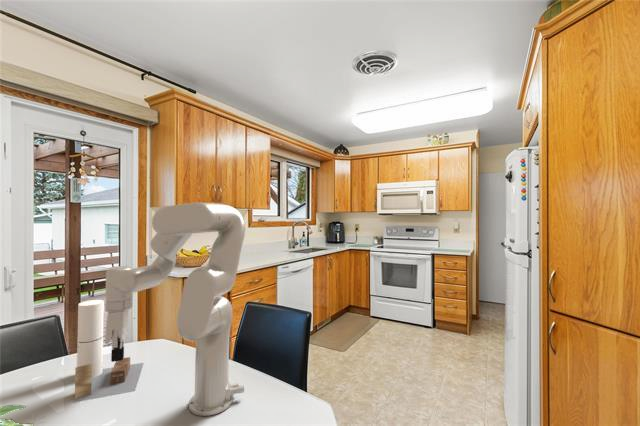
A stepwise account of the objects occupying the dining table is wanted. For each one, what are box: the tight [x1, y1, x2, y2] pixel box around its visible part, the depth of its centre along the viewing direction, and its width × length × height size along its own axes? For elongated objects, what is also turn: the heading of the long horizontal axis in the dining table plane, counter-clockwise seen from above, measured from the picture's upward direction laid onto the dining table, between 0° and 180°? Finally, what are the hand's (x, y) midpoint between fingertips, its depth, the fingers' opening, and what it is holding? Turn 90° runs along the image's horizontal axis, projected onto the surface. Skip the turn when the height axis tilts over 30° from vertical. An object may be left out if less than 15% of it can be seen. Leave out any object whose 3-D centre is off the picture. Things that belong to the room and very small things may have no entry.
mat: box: [72, 362, 144, 403], centre depth 102 cm, size 16×20×1 cm
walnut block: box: [110, 356, 131, 385], centre depth 105 cm, size 4×4×10 cm
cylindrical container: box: [76, 299, 105, 378], centre depth 105 cm, size 7×7×25 cm
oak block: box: [74, 364, 92, 399], centre depth 94 cm, size 4×4×8 cm
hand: (117, 359), depth 100 cm, fingers closed
